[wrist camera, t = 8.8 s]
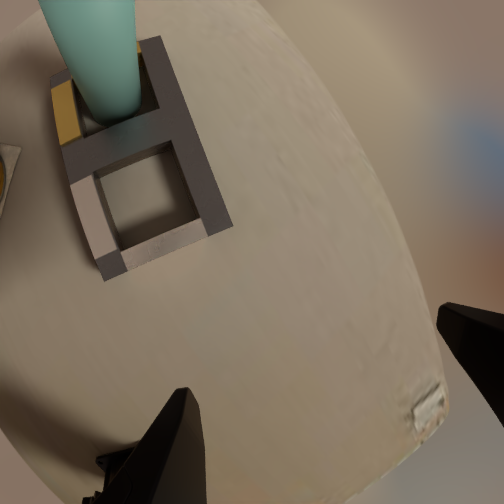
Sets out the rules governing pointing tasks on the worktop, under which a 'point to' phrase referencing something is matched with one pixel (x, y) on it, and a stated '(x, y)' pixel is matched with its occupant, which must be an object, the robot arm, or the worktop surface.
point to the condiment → (6, 169)
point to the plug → (99, 54)
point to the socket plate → (128, 152)
